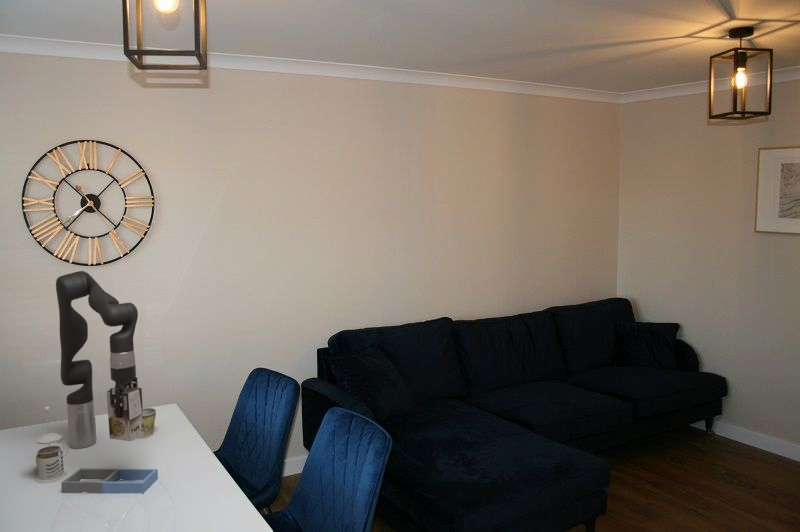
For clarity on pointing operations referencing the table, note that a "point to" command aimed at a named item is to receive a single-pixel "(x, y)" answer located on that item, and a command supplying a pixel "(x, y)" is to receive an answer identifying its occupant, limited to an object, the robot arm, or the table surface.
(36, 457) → the lemon
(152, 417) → the ceramic cup
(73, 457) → the table surface
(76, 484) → the frame
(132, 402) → the coffee box
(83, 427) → the robot arm
